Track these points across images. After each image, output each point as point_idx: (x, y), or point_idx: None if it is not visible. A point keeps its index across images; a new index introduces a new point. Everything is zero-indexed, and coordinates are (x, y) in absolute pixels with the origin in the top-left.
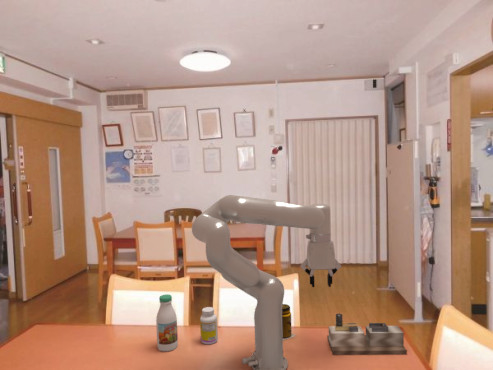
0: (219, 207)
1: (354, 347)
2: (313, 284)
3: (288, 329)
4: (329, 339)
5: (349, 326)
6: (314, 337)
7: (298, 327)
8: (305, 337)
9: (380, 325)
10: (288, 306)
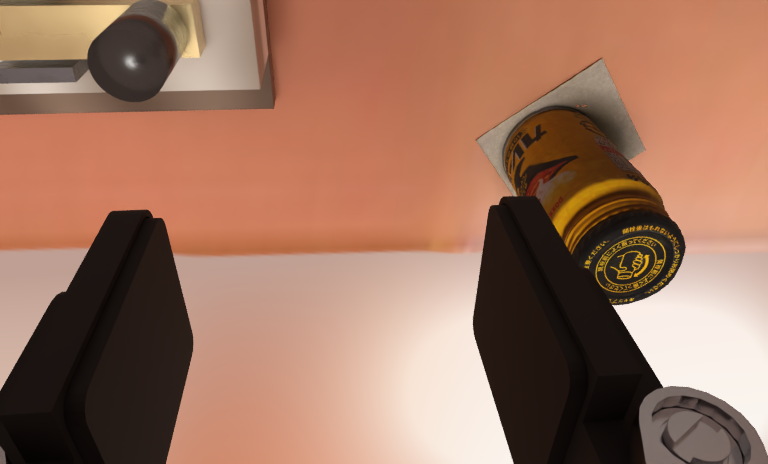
0: None
1: None
2: (533, 226)
3: (547, 138)
4: (263, 19)
5: (50, 5)
6: (360, 120)
7: (440, 240)
8: (419, 120)
9: None
10: (592, 263)
